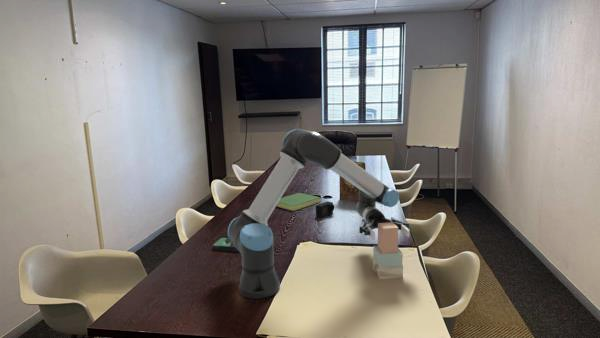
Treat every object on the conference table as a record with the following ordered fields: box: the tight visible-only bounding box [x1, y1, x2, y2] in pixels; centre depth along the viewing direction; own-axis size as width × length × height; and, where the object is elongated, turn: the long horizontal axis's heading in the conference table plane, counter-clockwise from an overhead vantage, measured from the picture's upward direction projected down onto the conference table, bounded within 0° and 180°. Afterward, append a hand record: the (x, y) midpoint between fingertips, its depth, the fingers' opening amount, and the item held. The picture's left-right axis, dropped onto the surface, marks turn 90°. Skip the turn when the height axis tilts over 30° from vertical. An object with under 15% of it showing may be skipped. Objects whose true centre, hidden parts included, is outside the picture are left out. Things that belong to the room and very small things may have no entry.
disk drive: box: [212, 237, 240, 253], centre depth 189 cm, size 10×3×15 cm
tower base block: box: [372, 258, 404, 280], centre depth 157 cm, size 9×9×5 cm
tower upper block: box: [372, 244, 403, 267], centre depth 156 cm, size 9×9×5 cm
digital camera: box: [315, 200, 335, 219], centre depth 229 cm, size 10×5×7 cm, turn 136°
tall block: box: [377, 222, 399, 253], centre depth 154 cm, size 6×6×10 cm
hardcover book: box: [275, 192, 321, 212], centre depth 254 cm, size 25×19×4 cm
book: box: [338, 161, 366, 203], centre depth 256 cm, size 16×6×25 cm, turn 58°
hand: (391, 235), depth 151 cm, fingers open, 13 cm apart
